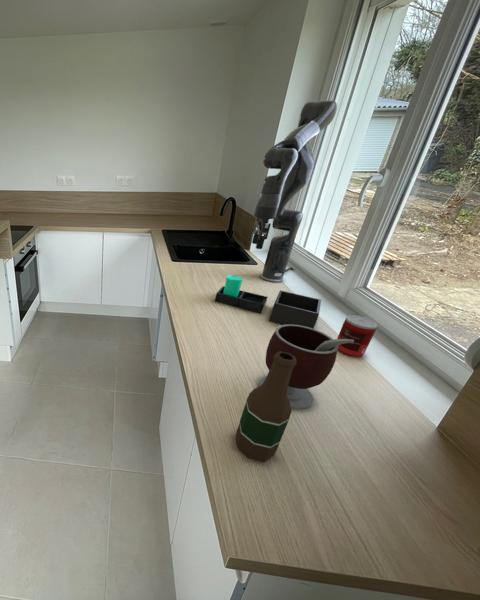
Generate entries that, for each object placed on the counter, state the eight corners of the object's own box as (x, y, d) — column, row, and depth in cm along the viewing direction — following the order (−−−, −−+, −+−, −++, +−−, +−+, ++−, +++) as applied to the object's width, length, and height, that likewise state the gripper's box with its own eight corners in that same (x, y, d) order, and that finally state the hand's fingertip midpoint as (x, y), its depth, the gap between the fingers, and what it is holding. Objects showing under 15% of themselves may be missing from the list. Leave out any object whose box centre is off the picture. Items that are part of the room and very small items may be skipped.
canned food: (357, 346, 105) (371, 317, 101) (368, 360, 98) (383, 329, 94) (330, 342, 108) (342, 313, 103) (338, 355, 101) (352, 324, 96)
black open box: (274, 307, 130) (280, 290, 127) (314, 317, 123) (321, 299, 120) (268, 321, 120) (274, 303, 116) (311, 333, 113) (319, 314, 109)
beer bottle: (227, 433, 72) (254, 344, 62) (259, 431, 73) (291, 343, 63) (246, 464, 65) (279, 370, 55) (282, 462, 66) (322, 368, 56)
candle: (238, 304, 132) (245, 277, 127) (222, 303, 133) (229, 276, 128) (234, 298, 137) (241, 272, 132) (220, 297, 138) (226, 271, 133)
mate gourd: (249, 394, 84) (270, 328, 75) (262, 369, 94) (282, 308, 85) (320, 424, 75) (353, 354, 66) (326, 393, 85) (356, 328, 76)
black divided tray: (220, 294, 141) (222, 286, 139) (265, 305, 132) (267, 296, 130) (214, 301, 134) (216, 292, 133) (260, 313, 125) (263, 304, 123)
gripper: (283, 208, 117) (270, 251, 123) (274, 203, 129) (263, 243, 136) (260, 206, 118) (249, 249, 125) (253, 202, 131) (243, 241, 138)
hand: (256, 246), depth 131 cm, fingers open, 8 cm apart
